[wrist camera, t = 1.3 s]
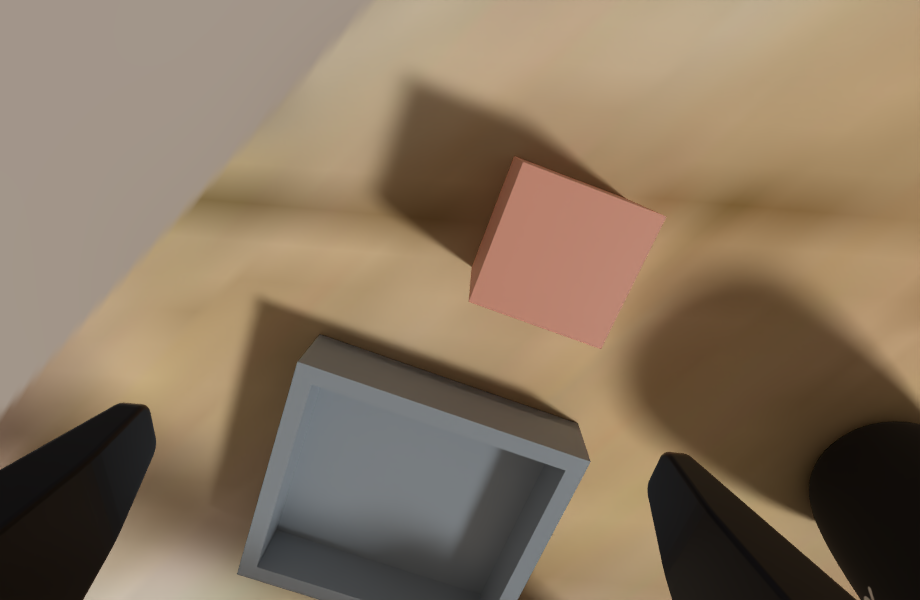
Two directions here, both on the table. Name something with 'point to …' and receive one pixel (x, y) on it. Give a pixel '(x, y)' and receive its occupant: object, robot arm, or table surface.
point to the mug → (872, 508)
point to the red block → (561, 253)
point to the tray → (406, 484)
